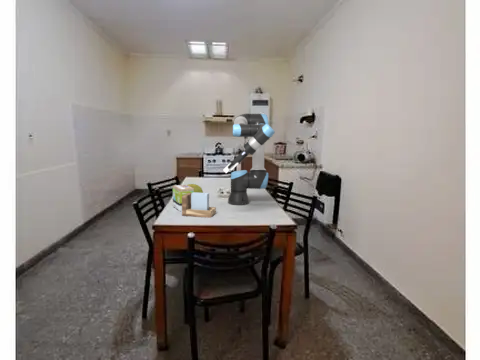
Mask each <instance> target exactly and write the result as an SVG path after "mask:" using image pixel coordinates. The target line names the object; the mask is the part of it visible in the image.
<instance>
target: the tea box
mask: <svg viewBox="0 0 480 360" xmlns="http://www.w3.org/2000/svg"><path fill="white" fill-rule="evenodd" d="M193 192H194V188H192V187H190V186H188V184H178V185H172V206H173V207H174V208H175V209H176V210H178V211H179V212H182V196H183V195H185V194H187V193H193Z"/></svg>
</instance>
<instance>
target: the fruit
mask: <svg viewBox="0 0 480 360" xmlns="http://www.w3.org/2000/svg"><path fill="white" fill-rule="evenodd" d="M187 185H188V186H190V187H192V188H194V192H197V193H204V191H203V189H202V187H201V186H200V185H199V184H196V183H195V184H194V183H188V184H187Z"/></svg>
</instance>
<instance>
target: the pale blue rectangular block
mask: <svg viewBox="0 0 480 360" xmlns="http://www.w3.org/2000/svg"><path fill="white" fill-rule="evenodd" d="M209 207H210V193H209V192H203V193H197V192H193V193H192V194H191V209H195V210H209Z"/></svg>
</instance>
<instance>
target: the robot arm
mask: <svg viewBox="0 0 480 360" xmlns="http://www.w3.org/2000/svg"><path fill="white" fill-rule="evenodd" d="M269 124H270V123H269V117H268V115H267V114H265V113H241V114H239V115H238V116H236V117H235V119H234V120H233V125H232V136H233V137H236V138H237V137H238V138H240V137H243V138H245V137H246V138H250V139H249V140H248V142H246V143H245V144H244V145H243V148H244V150H243V149H242V150H241V151H240V153H239V154H238V155H237V156H236V157H235V158H234V159H232V160H230V161H229V164H227V165H226V166H225V167H224V168H223V170H222V171H223V172H224V173H225V174H227V173H228V172H229V171H231V172H230V192H229V195H228V199H227V203H228V204H230V205H234V206H235V205H236V206H245V205H248V204H249V203H250V200H249V196H248V189H249V190H250V189H251V190H262V189H263V190H264V189H266V188H267V187H268V181H269V172H267V169H266V168H265V144H266V142H267V141H269V140H270V139H271V138H272V137H273V136H274V135H275V129H273V127H272V126H271V125H269ZM249 154H250V156H251V155H252V156H251V157H252V158H251V159H252V162H251V163H252V165H251V166H252V167H251V168H250V170H249V172H248V170H246V169H243V170H241V169H240V170H235V171H233V170H234V169H235V168H236V167H237V166H238V165H240V164H241V162H242V161H243V160H244V159H246V158H247V157H248V156H249Z"/></svg>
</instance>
